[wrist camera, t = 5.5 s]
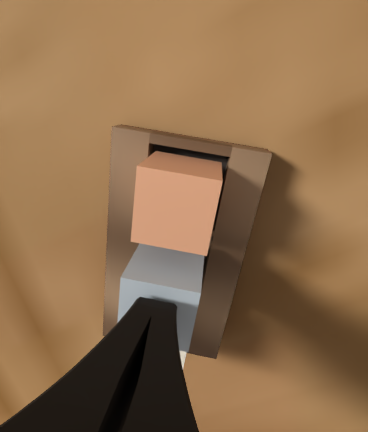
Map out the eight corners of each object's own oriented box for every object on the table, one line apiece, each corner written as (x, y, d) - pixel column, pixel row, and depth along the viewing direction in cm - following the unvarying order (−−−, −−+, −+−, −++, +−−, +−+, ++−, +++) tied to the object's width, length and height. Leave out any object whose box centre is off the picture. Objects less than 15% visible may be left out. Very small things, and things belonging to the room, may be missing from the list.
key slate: (194, 300, 13) (188, 352, 10) (137, 288, 13) (116, 337, 11) (204, 249, 12) (200, 293, 9) (142, 238, 12) (120, 277, 9)
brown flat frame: (216, 341, 17) (216, 359, 16) (110, 320, 17) (102, 335, 16) (267, 149, 12) (272, 153, 11) (121, 124, 12) (111, 126, 11)
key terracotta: (209, 222, 13) (206, 256, 10) (149, 211, 13) (130, 241, 10) (221, 162, 12) (222, 181, 9) (156, 151, 12) (136, 165, 9)
